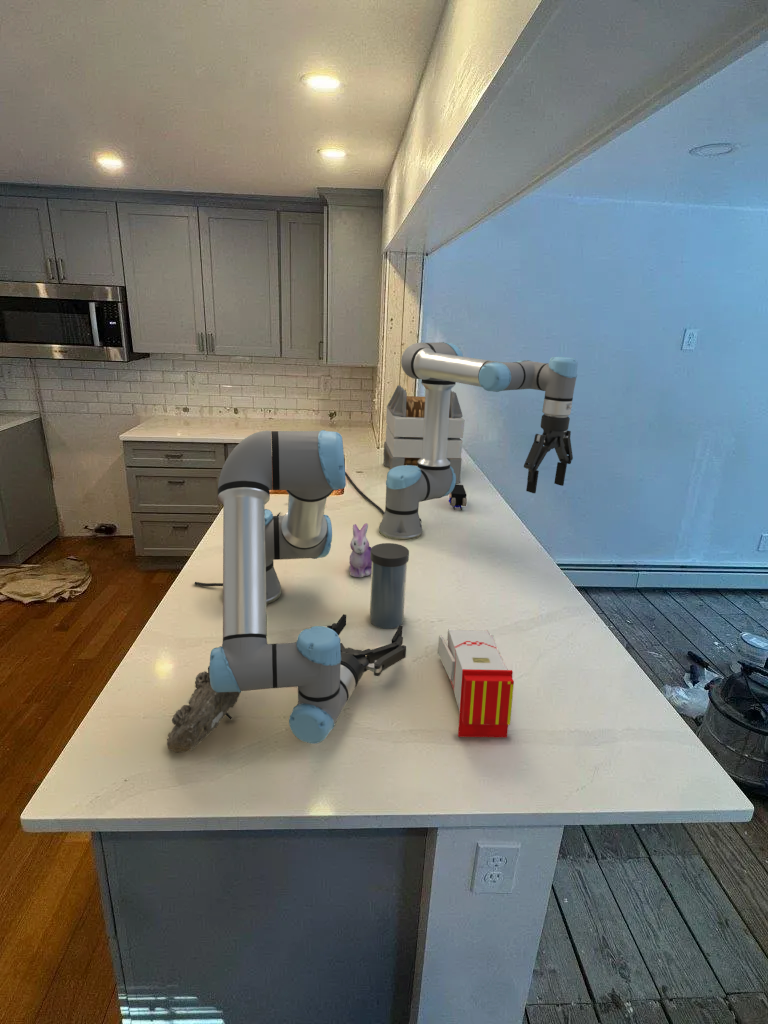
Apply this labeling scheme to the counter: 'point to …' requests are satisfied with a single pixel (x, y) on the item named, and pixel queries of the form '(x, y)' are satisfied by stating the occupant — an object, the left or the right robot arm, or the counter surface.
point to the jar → (387, 595)
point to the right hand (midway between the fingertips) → (545, 488)
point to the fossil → (199, 715)
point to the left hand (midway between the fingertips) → (372, 624)
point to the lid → (389, 555)
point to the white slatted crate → (418, 431)
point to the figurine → (360, 553)
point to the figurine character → (458, 497)
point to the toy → (478, 682)
